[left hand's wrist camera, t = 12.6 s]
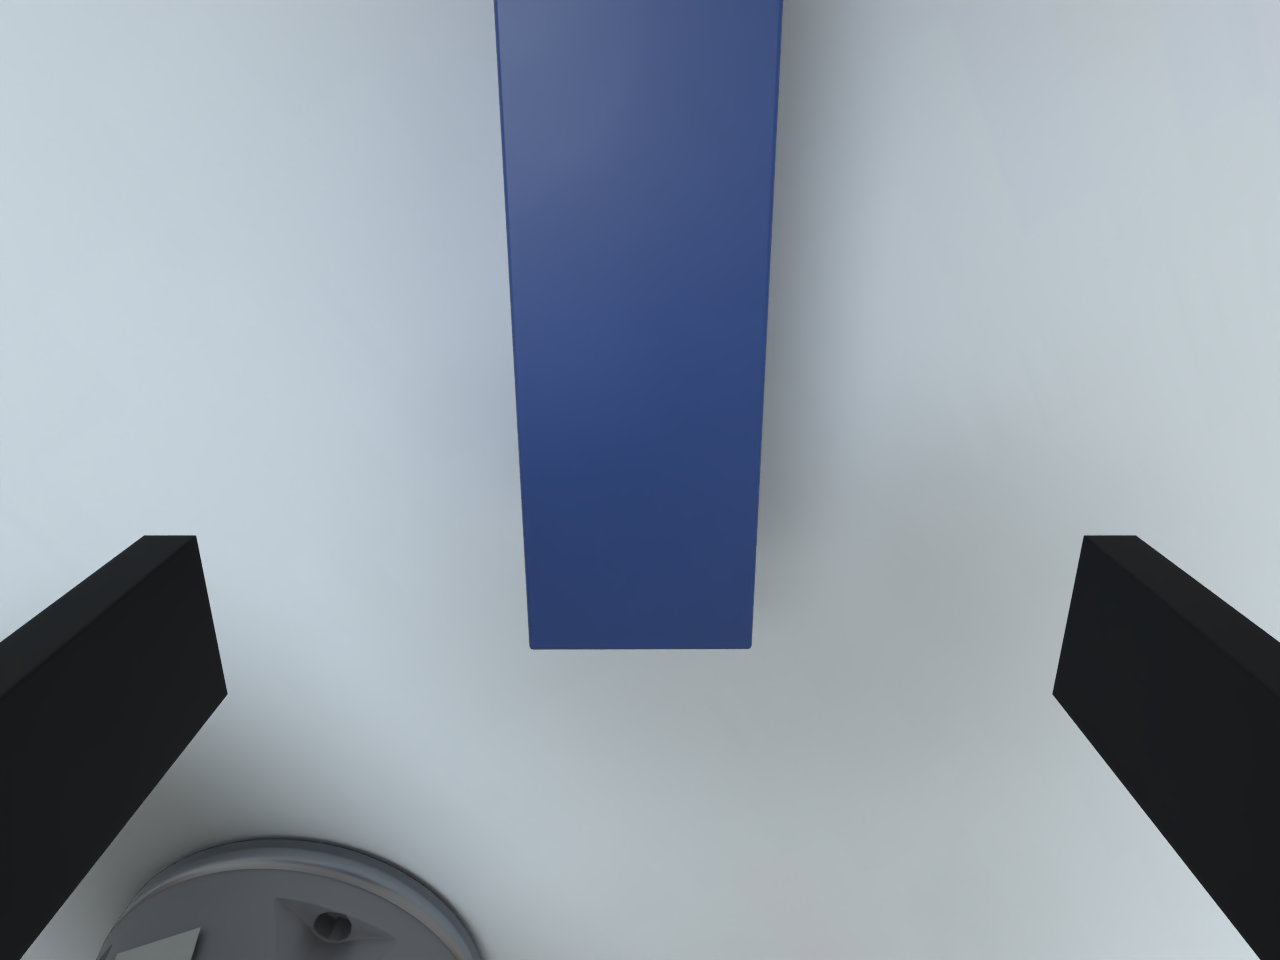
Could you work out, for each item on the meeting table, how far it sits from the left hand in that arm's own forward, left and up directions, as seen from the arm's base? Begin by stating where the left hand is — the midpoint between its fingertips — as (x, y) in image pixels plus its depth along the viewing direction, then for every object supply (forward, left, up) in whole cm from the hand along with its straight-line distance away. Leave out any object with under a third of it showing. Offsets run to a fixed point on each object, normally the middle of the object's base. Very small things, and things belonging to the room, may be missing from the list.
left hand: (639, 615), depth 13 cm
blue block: (+4, -1, -15) cm, 15 cm away
